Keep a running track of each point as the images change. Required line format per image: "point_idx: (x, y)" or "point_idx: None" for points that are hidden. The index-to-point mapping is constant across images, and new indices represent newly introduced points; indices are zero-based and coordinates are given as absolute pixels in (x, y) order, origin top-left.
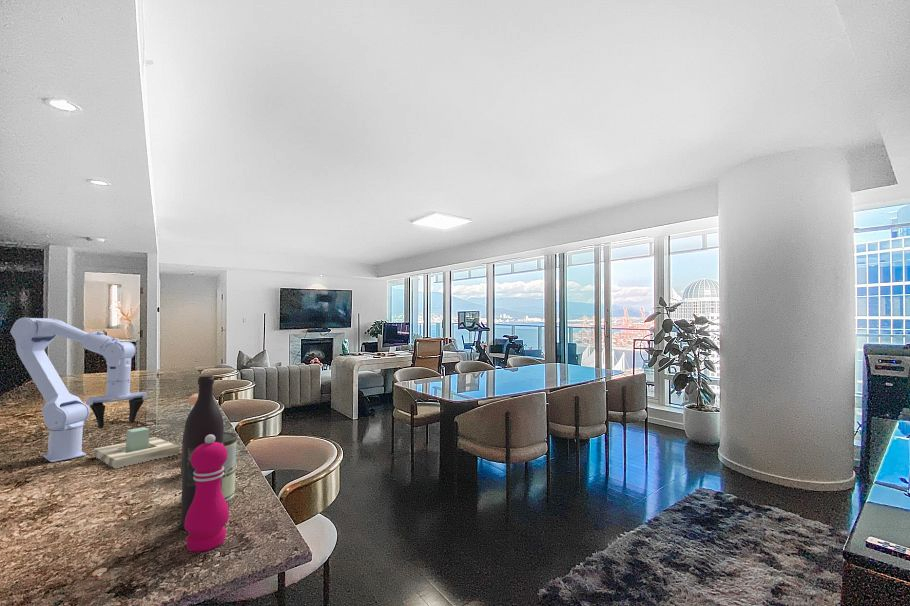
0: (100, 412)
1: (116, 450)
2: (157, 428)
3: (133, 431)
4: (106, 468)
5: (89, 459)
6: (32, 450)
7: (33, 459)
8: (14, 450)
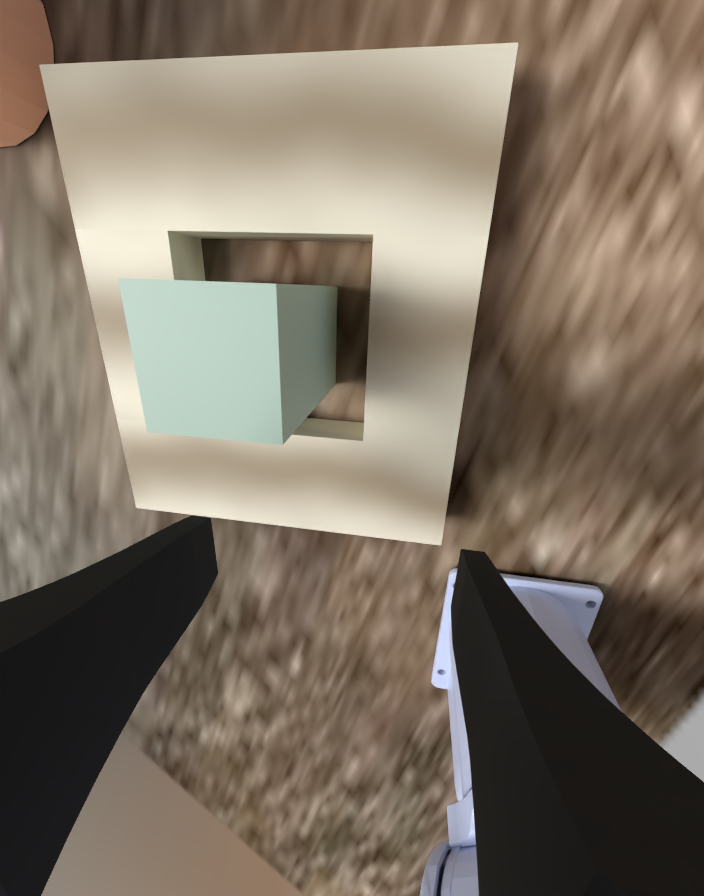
0: (594, 729)
1: (384, 384)
2: None
3: (258, 309)
4: (520, 174)
5: (471, 492)
6: None
7: None
8: None
